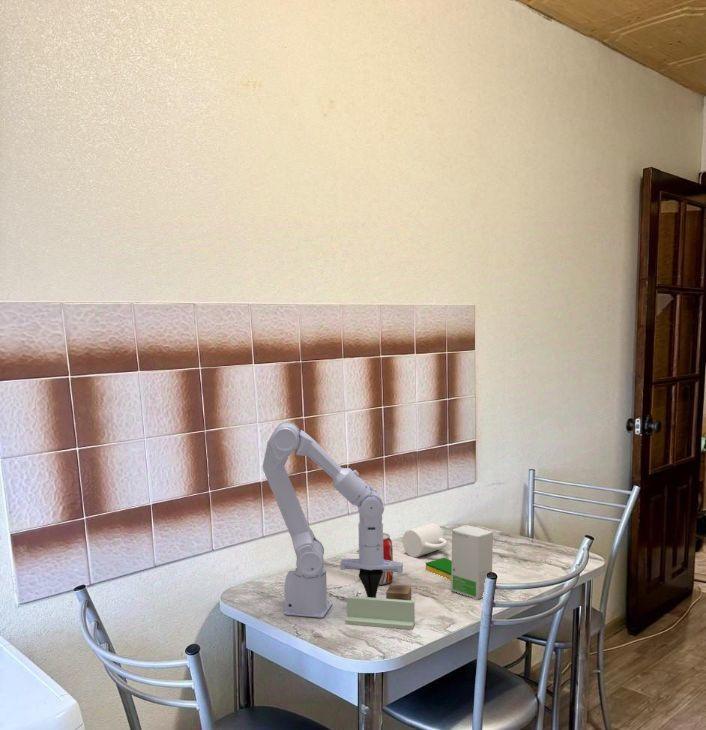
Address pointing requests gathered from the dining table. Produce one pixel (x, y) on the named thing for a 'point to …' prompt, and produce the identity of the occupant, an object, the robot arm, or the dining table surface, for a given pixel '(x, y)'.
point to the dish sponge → (440, 567)
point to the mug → (423, 540)
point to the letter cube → (399, 592)
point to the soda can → (387, 558)
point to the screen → (380, 612)
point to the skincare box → (471, 560)
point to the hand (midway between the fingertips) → (372, 601)
